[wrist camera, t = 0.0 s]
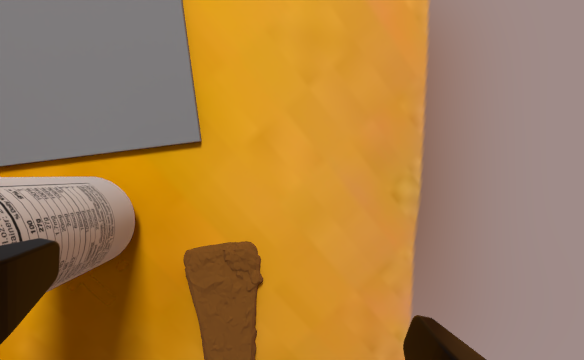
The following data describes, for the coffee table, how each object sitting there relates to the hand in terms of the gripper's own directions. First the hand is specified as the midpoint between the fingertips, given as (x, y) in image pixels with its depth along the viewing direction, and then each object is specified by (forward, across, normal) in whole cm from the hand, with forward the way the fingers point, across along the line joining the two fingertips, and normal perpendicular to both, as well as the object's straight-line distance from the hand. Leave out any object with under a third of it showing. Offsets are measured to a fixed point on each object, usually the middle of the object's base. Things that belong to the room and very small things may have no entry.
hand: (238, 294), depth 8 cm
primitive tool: (+13, 0, +15) cm, 20 cm away
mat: (+18, +17, -8) cm, 26 cm away
